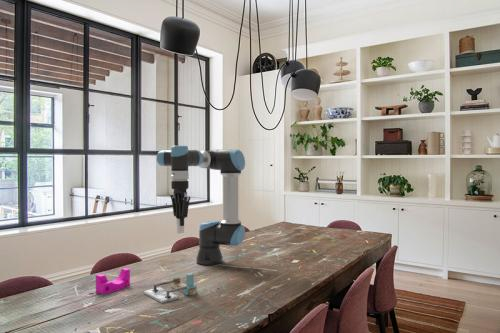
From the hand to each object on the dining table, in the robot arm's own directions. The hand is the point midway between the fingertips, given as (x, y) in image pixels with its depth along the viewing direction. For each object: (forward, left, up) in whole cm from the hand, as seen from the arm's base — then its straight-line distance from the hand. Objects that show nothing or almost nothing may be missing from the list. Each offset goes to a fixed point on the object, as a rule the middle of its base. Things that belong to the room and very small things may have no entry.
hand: (180, 232), depth 171 cm
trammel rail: (-1, 0, -26) cm, 26 cm away
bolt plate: (+10, 0, -26) cm, 28 cm away
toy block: (+20, -23, -27) cm, 41 cm away
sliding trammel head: (-1, +8, -26) cm, 27 cm away
